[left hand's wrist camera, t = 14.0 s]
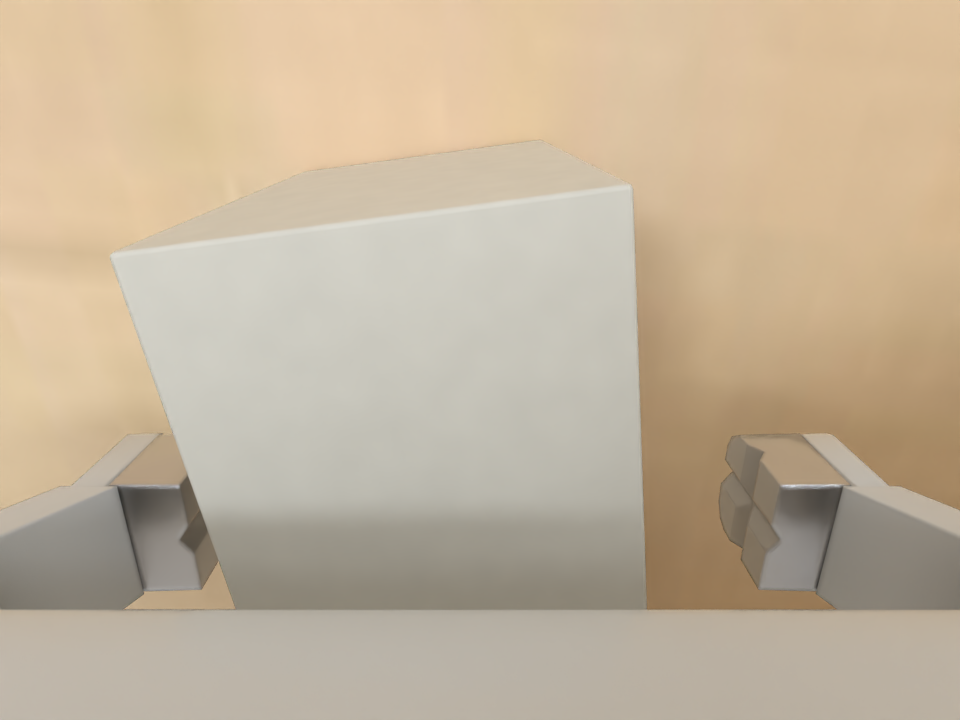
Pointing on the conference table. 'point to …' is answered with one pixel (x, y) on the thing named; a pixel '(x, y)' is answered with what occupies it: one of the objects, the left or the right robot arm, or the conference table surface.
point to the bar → (408, 383)
